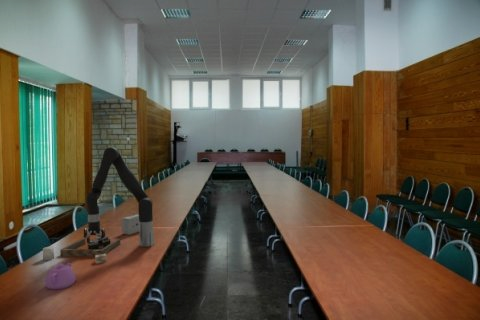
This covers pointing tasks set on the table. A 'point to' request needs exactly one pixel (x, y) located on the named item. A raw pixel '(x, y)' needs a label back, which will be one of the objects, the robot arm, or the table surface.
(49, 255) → the white capsule cylinder
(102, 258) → the birch block
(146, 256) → the table surface
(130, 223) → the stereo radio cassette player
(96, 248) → the camera
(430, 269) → the table surface
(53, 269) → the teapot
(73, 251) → the corral
